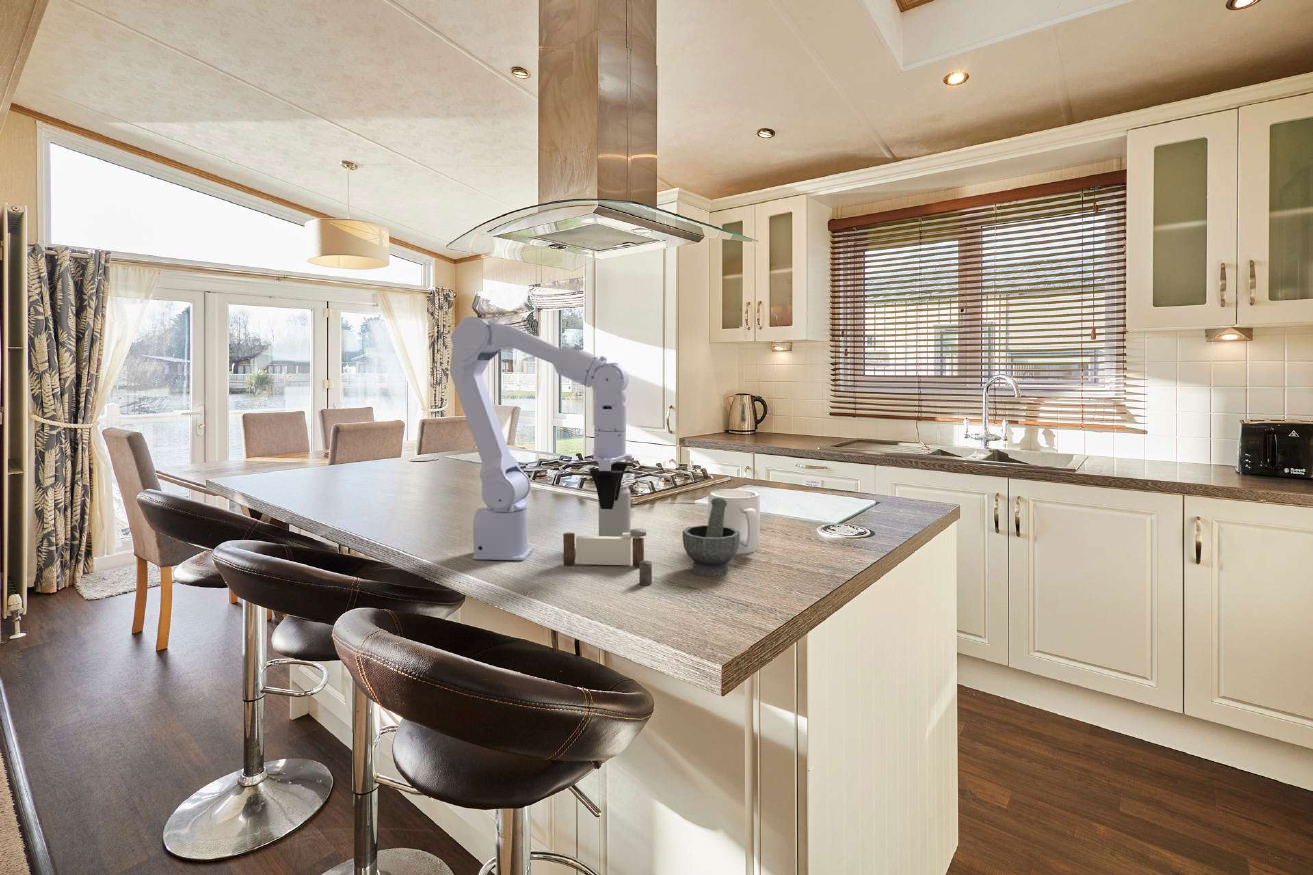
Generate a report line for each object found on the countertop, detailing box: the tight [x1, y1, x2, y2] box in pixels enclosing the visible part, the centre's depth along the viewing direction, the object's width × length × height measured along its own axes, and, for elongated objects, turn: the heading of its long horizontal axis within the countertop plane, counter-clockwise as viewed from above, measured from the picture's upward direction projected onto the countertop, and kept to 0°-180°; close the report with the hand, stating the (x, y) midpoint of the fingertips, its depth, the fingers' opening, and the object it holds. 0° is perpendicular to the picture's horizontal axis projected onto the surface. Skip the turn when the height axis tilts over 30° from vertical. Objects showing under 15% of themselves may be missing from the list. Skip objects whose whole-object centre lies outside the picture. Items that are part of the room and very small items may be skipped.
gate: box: [575, 528, 647, 566], centre depth 113 cm, size 12×3×6 cm, turn 87°
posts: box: [562, 532, 653, 586], centre depth 108 cm, size 16×12×6 cm
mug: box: [707, 488, 761, 555], centre depth 124 cm, size 14×10×11 cm
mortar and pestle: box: [682, 498, 740, 577], centre depth 111 cm, size 11×9×12 cm
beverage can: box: [598, 482, 632, 537], centre depth 127 cm, size 6×6×12 cm
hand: (609, 504), depth 116 cm, fingers open, 7 cm apart
